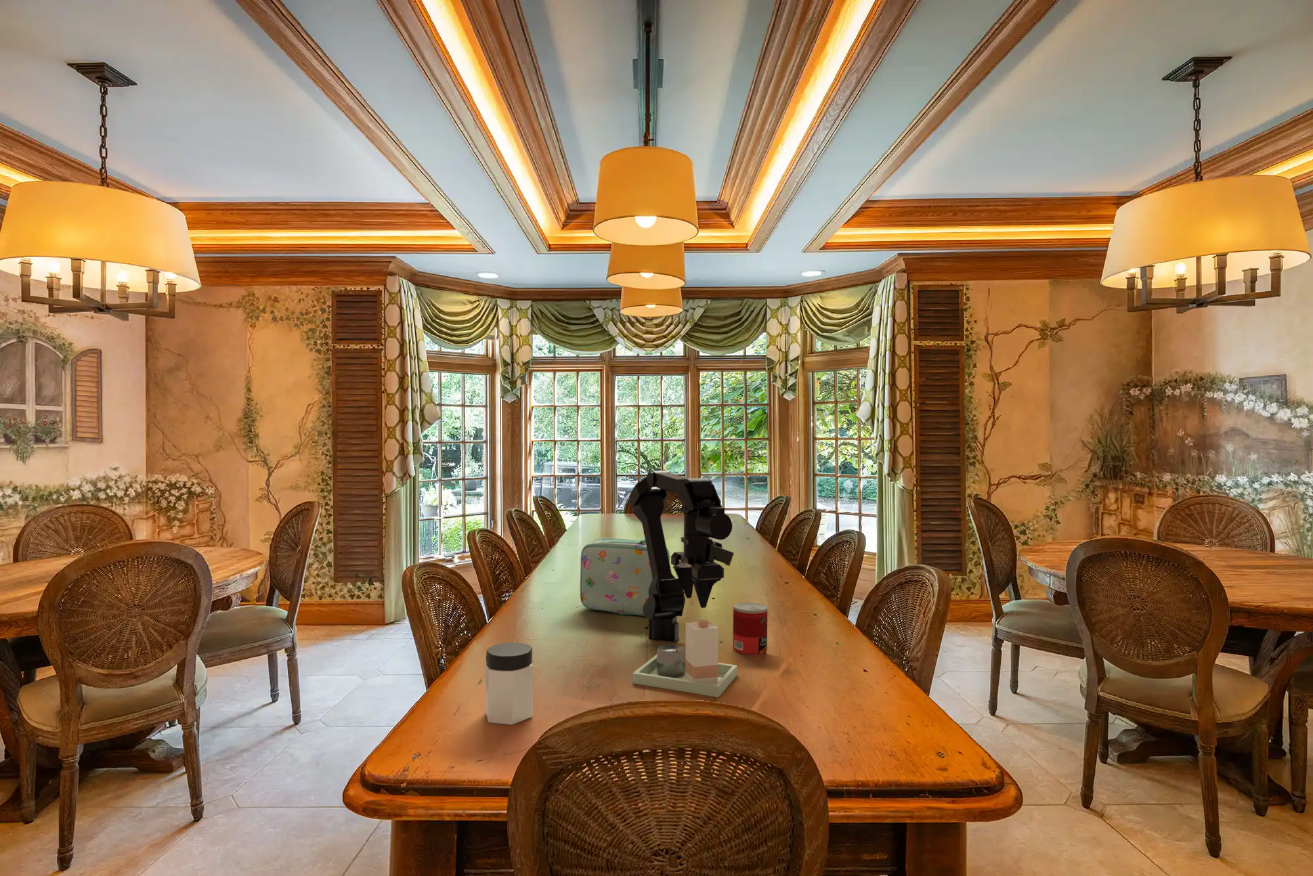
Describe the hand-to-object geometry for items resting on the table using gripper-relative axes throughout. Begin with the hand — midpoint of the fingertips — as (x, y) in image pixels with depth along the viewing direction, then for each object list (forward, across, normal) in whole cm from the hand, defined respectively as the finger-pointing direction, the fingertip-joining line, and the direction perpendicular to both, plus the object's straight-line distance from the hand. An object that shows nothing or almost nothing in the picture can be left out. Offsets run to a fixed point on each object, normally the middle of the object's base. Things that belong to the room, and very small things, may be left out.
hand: (695, 602), depth 154 cm
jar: (+13, -19, +43) cm, 49 cm away
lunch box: (+13, +45, +4) cm, 47 cm away
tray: (+13, -13, +7) cm, 20 cm away
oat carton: (+12, -17, +5) cm, 22 cm away
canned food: (+13, +1, -14) cm, 19 cm away
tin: (+12, -9, +9) cm, 17 cm away
